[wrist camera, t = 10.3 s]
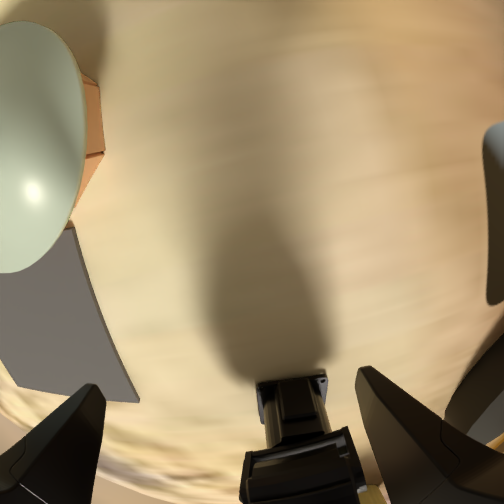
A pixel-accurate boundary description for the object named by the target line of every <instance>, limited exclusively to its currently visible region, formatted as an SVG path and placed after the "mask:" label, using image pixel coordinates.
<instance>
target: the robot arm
mask: <svg viewBox="0 0 504 504" xmlns="http://www.w3.org/2000/svg"><path fill="white" fill-rule="evenodd" d="M327 386H328V377H327V375H325V374H323V375H316V376H310V377H303V378H296V379H288V380H280V381H271V382H262V383H258V384H257V386H256V389H257V397H258V405H259V413H260V421H261V424H265V433H266V443H267V449H264V450H259V451H254V452H253V451H248V452H246V454H245V460H244V462H243V469H242V476H241V483H240V490H239V493H240V494H239V500H240V501H241V502H242V503H243V504H360V500H359V496H358V494H359V493H363V492H366V491H367V486H366V481H365V477H364V474H363V470H362V467H361V463H360V460H359V457H358V454H357V451H356V449H355V446H354V443H353V440H352V437H351V435H350V432H349V429H348V426H345V427H342V428H341V429H339V430H336V431H333V432H332V430H331V427H330V423H329V419H328V416H327V412H326V409H325V401H326V394H327ZM262 387H263V388H262ZM355 391H356V395H357V399H358V403H359V407H360V411H361V416H362V420H363V424H364V427H365V430H366V433H367V436H368V439H369V441H370V444H371V447H372V450H373V452H374V455H375V458H376V461H377V464H378V467H379V469H380V472H381V475H382V478H383V481H384V484H385V487H386V490H387V493H388V496H389V499H390V502H391V504H504V454H503V453H500V452H498V451H495V450H493V449H491V448H490V447H488V446H486V445H484V444H482V443H480V442H478V441H476V440H475V439H473V438H471V437H469V436H468V435H466V434H464V433H462V432H461V431H459V430H458V429H456V428H455V427H453V426H452V425H450V424H449V423H448V422H446V421H445V420H442V418H441V417H439V416H438V415H437V414H435V413H434V412H432V411H431V410H430V409H428V408H427V407H426V406H424V405H423V404H422V403H420V402H419V401H418V400H416V399H415V398H413V397H412V396H411V395H409V394H408V393H407V392H405V391H404V390H403V389H401V388H400V387H399V386H397V385H396V384H395V383H393V382H392V381H391V380H389V379H388V378H387V377H385V376H384V375H383V374H381V373H380V372H379V371H377V370H376V369H375V368H373V367H372V366H364V367H360V368H359V369H358V371H357V376H356V381H355ZM105 411H106V399H105V397H104V395H103V393H102V392H101V390H100V388H99V387H98V385H97V384H93V383H86V384H85V385H83V386H82V387H81V388H80V389H79V390H78V391H76V392H75V393H74V394H73V395H72V396H71V397H69V398H68V399H67V400H66V401H65V402H64V403H62V404H61V405H60V406H59V407H58V408H57V409H55V410H54V411H53V412H52V413H51V414H50V415H48V416H47V417H46V418H45V419H44V420H43V421H42V422H40V423H39V424H38V425H37V426H36V427H35V428H33V429H32V430H31V431H30V432H29V433H28V434H26V436H24V437H23V438H22V439H21V440H20V441H18V442H17V443H16V444H15V445H14V446H12V447H11V448H10V449H8V450H7V451H6V452H4V453H3V454H2V455H0V504H91V499H92V492H93V486H94V480H95V474H96V469H97V463H98V458H99V453H100V448H101V443H102V437H103V429H104V419H105Z"/></svg>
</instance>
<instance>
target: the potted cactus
mask: <svg viewBox="0 0 504 504" xmlns="http://www.w3.org/2000/svg"><path fill="white" fill-rule="evenodd" d="M366 486H367V491H366V492H363V493H359V494H358V496H359V500H360V504H387V503H386V501H385V499H384V497H383V495H382V493H381V492H380V490H379V488H378V487H377V486H376V485H366Z"/></svg>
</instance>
